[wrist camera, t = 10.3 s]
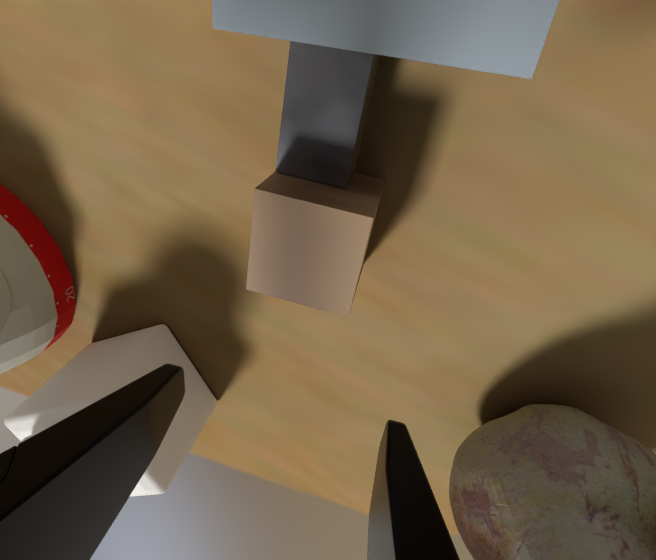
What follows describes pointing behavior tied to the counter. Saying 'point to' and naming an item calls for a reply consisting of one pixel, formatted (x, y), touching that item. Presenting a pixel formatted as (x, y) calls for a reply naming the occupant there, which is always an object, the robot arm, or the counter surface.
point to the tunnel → (405, 28)
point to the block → (311, 239)
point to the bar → (324, 112)
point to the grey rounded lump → (554, 489)
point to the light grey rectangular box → (112, 374)
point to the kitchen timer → (30, 285)
